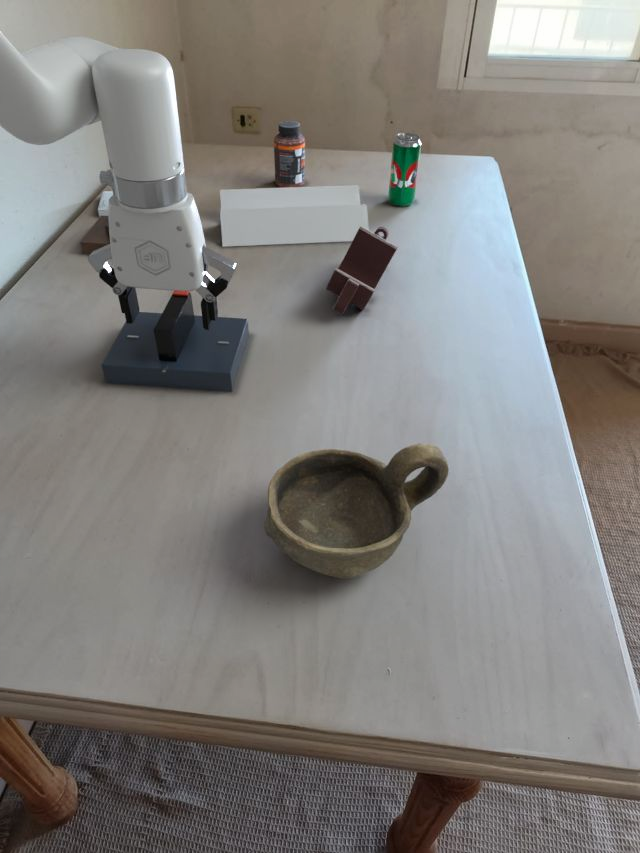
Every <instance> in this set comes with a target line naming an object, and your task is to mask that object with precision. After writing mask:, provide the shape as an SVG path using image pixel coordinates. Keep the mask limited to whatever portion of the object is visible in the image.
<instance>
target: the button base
mask: <svg viewBox="0 0 640 853" xmlns="http://www.w3.org/2000/svg"><path fill="white" fill-rule="evenodd" d="M79 244H80V247H81V252H82V254H83V255H89V256H90V254H91V253H92V252H93V251H95V250H97V249H100V248H102V247H104V246H106V245H108V244H110V235H109V218H108V216H102V215H101V216H100V217H99V218H98V219H97V220H96V221H95V222H94V224H93V225H92V226H91V228H90V229H89V230H88V231H87V233H86V234H85V235H84V236H83V237H82V239H81V240H80V241H79Z"/></svg>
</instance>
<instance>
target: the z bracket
mask: <svg viewBox="0 0 640 853" xmlns="http://www.w3.org/2000/svg"><path fill="white" fill-rule="evenodd" d="M360 193H361V192H360V185H359V184H355V185H354V184H351V185H320V186H318V185H317V186H316V185H315V186H301V187H286V188H282V187H261V188H260V187H259V188H230V189H227V188H226V189H219V197H220V209H219V214H220V216H219V217H220V230H221V242H222V244H221V246H222V248H230V247H231V248H233V247H253V246H254V247H255V246H275V245H276V246H277V245H298V244H299V245H300V244H302V245H303V244H322V243H323V244H324V243H325V244H326V243H327V244H328V243H347V242H350V243H352V241H353V239H354V237H355V235H356V233H357V231H358V229H359V228H360V226H362V227H364V228H366V229H367V230H369V231H370V229H369V228H370V227H369V214H368V204H367V203H366V204H365V203H364V204H363V203H362V204H361V194H360Z"/></svg>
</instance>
